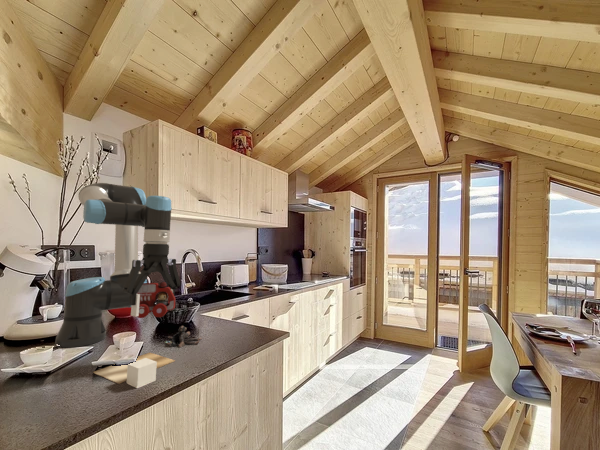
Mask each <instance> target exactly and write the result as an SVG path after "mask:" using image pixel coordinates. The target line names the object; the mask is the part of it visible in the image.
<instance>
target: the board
mask: <svg viewBox="0 0 600 450" xmlns="http://www.w3.org/2000/svg"><path fill="white" fill-rule="evenodd" d="M137 357H138V358H137V360H136V361H138V360H141V359H144V358H148V359H151V360H153V361H156V362H157V367H156V370H158V369H159V368H162V367H164V366H167V365H170V364H172V363H174V362H175V361H176V360H175V359H171V358H169V357H165V356H162V355H159V354H156V353H153V352H147V353H144V354H142V355H138V356H137ZM127 368H128V365H121V366H112V365H108V366H105V367H103V368H100V369H97V370H95V371H92V373H93V374H95V375H97V376H99V377H102V378H105V379H107V380H109V381H111V382H113V383H115V384H118V385H120V384H123V383H125V382H127Z"/></svg>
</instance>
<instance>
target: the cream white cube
mask: <svg viewBox="0 0 600 450" xmlns="http://www.w3.org/2000/svg"><path fill="white" fill-rule="evenodd" d="M156 367H157V362H156V361H153V360H151V359H148V358H144V359H141V360H138V361H136V362H133V363H130V364H128V368H127V381H126V384H128V386H132V387H134V388H136V389H139V388H141V387H144V386H146V385H148V384H151V383H154V382H156V380H157V369H156Z"/></svg>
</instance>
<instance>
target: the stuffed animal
mask: <svg viewBox="0 0 600 450" xmlns="http://www.w3.org/2000/svg"><path fill="white" fill-rule="evenodd" d="M187 328H188V327H186V326H184V325H181V326H179V328H178V330H177V331H178V332H177V333H175V334H173V336H170V335H169V336H168V337H167V338H168V340H167V341H165V342H164V343H165V344H167V345H168V346H170V347H172V348H173V347H174V348H175V347H178V348H183V347H184V346H185V345H186V346H192V345H193V346H194V345H198V344H199V343H200V341H201V340H202V339H203V337H199V338H194V337H192V338H189V336H190V335H191V332H190V331H187ZM186 338H188V339H186ZM169 340H170V341H169Z"/></svg>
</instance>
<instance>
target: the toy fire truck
mask: <svg viewBox="0 0 600 450" xmlns="http://www.w3.org/2000/svg"><path fill="white" fill-rule="evenodd" d="M137 294H140V302H139V316H137V317H136V318H138V319H144V318H146V317H147V316H148V315H149V314H150V313H152V314H153V316H154V317H156V318H162V317H164V316H165V315H166V314H167V312H169V311H173V310H175V308H176V296H175V295H174V294H173V292H172V290H171V288H170V287H168V286H167V284H166V282H165V281H161V282H160V283H158V282H147V283H143V285H142V286H141V288H140V290H139V291H138V293H137ZM167 297H168V301H167V300H166V299H167Z"/></svg>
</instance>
